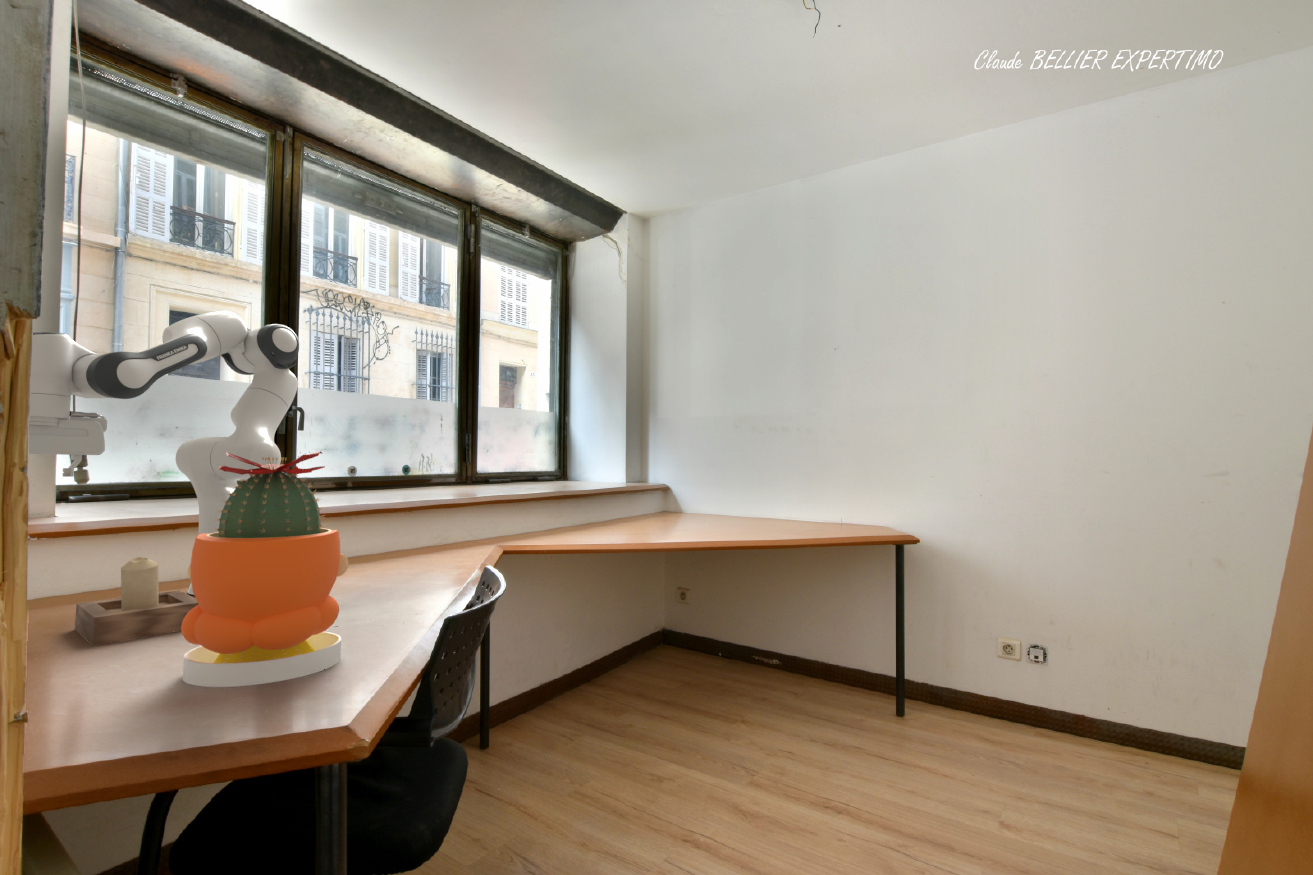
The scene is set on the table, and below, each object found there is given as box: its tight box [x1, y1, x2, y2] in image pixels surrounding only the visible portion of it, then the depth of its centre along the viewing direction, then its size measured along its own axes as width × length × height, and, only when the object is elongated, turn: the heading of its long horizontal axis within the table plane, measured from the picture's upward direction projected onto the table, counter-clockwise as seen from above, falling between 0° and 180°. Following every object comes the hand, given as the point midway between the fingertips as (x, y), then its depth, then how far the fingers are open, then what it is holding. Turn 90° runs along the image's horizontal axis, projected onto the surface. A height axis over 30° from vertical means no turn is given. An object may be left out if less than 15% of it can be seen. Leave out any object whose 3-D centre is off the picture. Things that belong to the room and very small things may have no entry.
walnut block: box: [74, 590, 199, 647], centre depth 117 cm, size 16×16×6 cm
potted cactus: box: [180, 451, 349, 688], centre depth 95 cm, size 22×22×35 cm
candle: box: [120, 556, 160, 611], centre depth 117 cm, size 6×6×10 cm
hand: (35, 476), depth 122 cm, fingers open, 8 cm apart
